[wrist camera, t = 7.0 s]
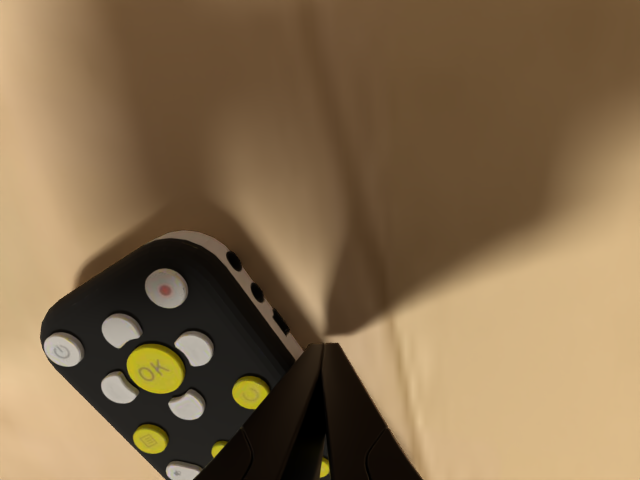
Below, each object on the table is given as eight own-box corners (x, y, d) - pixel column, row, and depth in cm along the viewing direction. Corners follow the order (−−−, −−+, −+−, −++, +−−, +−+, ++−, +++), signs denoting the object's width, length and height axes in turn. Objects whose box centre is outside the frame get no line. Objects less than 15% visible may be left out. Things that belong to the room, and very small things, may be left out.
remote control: (277, 533, 13) (266, 600, 12) (61, 300, 10) (-2, 337, 8) (411, 489, 12) (424, 555, 10) (208, 205, 9) (172, 224, 7)
